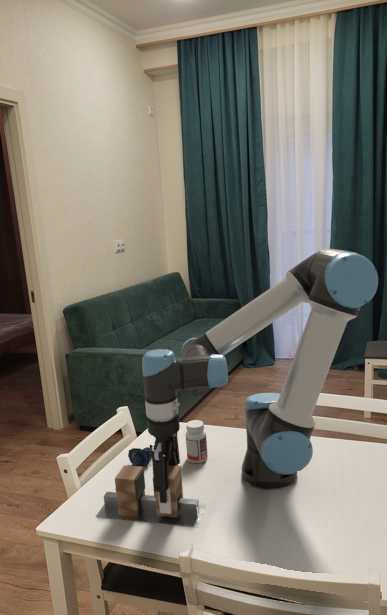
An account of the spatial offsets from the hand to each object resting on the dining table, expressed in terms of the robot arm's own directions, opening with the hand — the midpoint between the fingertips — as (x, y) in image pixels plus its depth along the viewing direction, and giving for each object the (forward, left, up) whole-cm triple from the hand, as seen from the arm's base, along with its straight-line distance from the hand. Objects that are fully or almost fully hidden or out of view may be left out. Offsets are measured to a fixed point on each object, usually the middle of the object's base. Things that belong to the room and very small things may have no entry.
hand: (170, 503), depth 118 cm
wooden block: (+10, 0, -2) cm, 10 cm away
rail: (+5, 0, -3) cm, 6 cm away
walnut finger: (0, 0, -1) cm, 1 cm away
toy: (+16, -25, -4) cm, 29 cm away
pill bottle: (0, -28, -4) cm, 28 cm away
